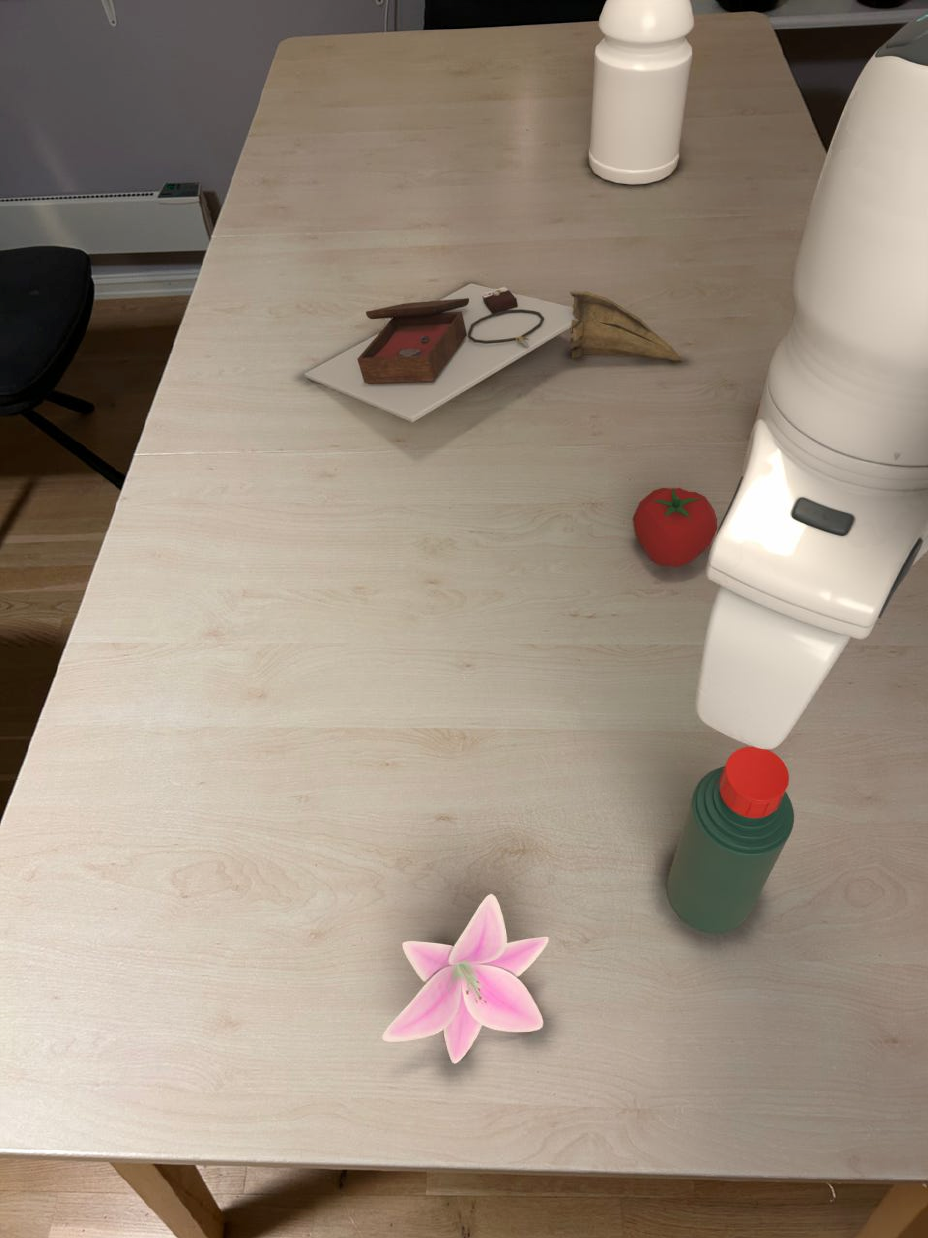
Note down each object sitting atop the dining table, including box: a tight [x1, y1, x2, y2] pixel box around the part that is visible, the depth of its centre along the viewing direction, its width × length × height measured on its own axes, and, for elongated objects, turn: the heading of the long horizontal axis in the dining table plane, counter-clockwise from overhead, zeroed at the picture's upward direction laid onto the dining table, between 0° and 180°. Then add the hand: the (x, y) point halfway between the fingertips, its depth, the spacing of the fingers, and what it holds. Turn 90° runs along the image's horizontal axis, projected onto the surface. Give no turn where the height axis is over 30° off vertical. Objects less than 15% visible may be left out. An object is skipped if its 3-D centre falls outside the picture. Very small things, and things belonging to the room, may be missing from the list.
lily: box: [381, 893, 550, 1065], centre depth 66 cm, size 12×12×10 cm
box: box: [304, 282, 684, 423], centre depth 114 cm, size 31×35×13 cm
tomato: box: [632, 487, 718, 568], centre depth 93 cm, size 8×8×7 cm
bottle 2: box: [666, 765, 795, 934], centre depth 66 cm, size 7×7×18 cm
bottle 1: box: [588, 0, 695, 185], centre depth 135 cm, size 14×14×28 cm
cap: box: [719, 745, 790, 818], centre depth 59 cm, size 4×4×2 cm
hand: (787, 649), depth 49 cm, fingers open, 8 cm apart
